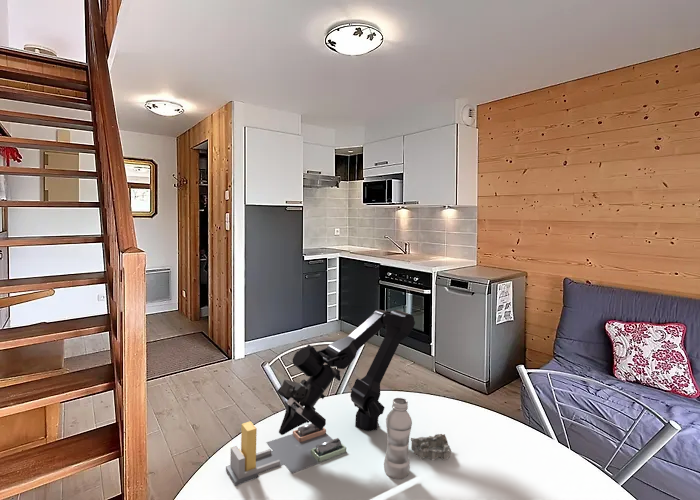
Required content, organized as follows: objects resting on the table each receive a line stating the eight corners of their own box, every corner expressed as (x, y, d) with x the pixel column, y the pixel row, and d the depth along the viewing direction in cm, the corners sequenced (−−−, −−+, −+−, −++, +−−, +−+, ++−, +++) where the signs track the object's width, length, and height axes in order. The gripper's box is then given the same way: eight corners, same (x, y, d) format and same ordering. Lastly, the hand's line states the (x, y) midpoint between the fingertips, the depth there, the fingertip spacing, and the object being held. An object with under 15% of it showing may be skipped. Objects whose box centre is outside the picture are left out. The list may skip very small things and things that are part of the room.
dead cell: (317, 429, 122) (316, 420, 122) (321, 432, 120) (321, 423, 120) (296, 435, 118) (296, 426, 118) (301, 439, 116) (300, 429, 116)
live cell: (336, 447, 114) (335, 437, 114) (341, 449, 111) (340, 439, 112) (314, 455, 110) (313, 444, 110) (320, 457, 107) (319, 447, 108)
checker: (317, 428, 124) (318, 410, 123) (347, 455, 111) (347, 435, 111) (220, 460, 107) (220, 439, 106) (241, 496, 94) (242, 472, 93)
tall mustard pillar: (249, 460, 105) (250, 421, 104) (255, 469, 102) (256, 428, 101) (240, 463, 104) (241, 423, 103) (246, 472, 100) (247, 431, 99)
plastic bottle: (408, 485, 100) (413, 409, 98) (381, 480, 101) (385, 405, 99) (410, 469, 106) (414, 397, 104) (384, 465, 108) (388, 393, 106)
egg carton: (445, 446, 118) (446, 433, 118) (452, 462, 111) (453, 448, 110) (409, 444, 118) (410, 431, 118) (413, 460, 111) (414, 446, 110)
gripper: (283, 358, 116) (246, 404, 111) (316, 382, 101) (275, 437, 96) (307, 378, 121) (273, 423, 116) (341, 403, 106) (304, 457, 101)
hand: (280, 433), depth 107 cm, fingers closed
